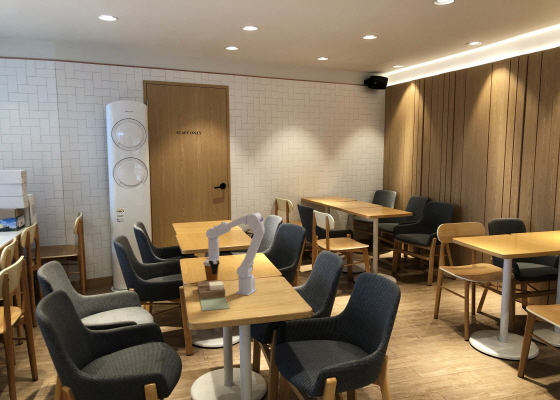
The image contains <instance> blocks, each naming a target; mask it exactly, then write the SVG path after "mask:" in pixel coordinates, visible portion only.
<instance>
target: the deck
mask: <svg viewBox="0 0 560 400" xmlns="http://www.w3.org/2000/svg"><path fill="white" fill-rule="evenodd" d="M218 281H222V280H221V279H219V280H218V279H217V280H215V281H207V280H206V281H205V280H204V281H197V292H198V297H199V300H200V299H210V298H220V297H225V298H226V289H225V288H224V289H221V290H210V288H209V282H218Z"/></svg>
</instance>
